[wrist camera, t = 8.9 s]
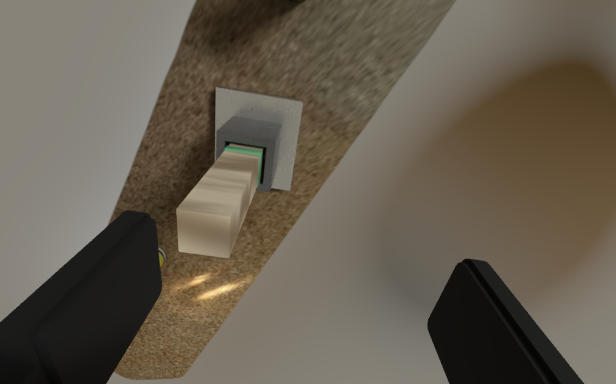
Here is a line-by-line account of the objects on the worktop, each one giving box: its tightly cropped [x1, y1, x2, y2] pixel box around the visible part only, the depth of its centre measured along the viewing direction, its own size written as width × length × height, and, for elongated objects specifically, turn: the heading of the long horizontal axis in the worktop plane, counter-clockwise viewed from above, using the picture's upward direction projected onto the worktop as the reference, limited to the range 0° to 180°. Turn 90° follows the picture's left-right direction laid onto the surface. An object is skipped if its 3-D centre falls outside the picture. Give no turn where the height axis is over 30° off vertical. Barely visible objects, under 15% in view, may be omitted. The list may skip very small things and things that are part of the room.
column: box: [176, 143, 263, 258], centre depth 29 cm, size 4×4×16 cm
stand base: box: [215, 85, 304, 192], centre depth 40 cm, size 14×12×10 cm
